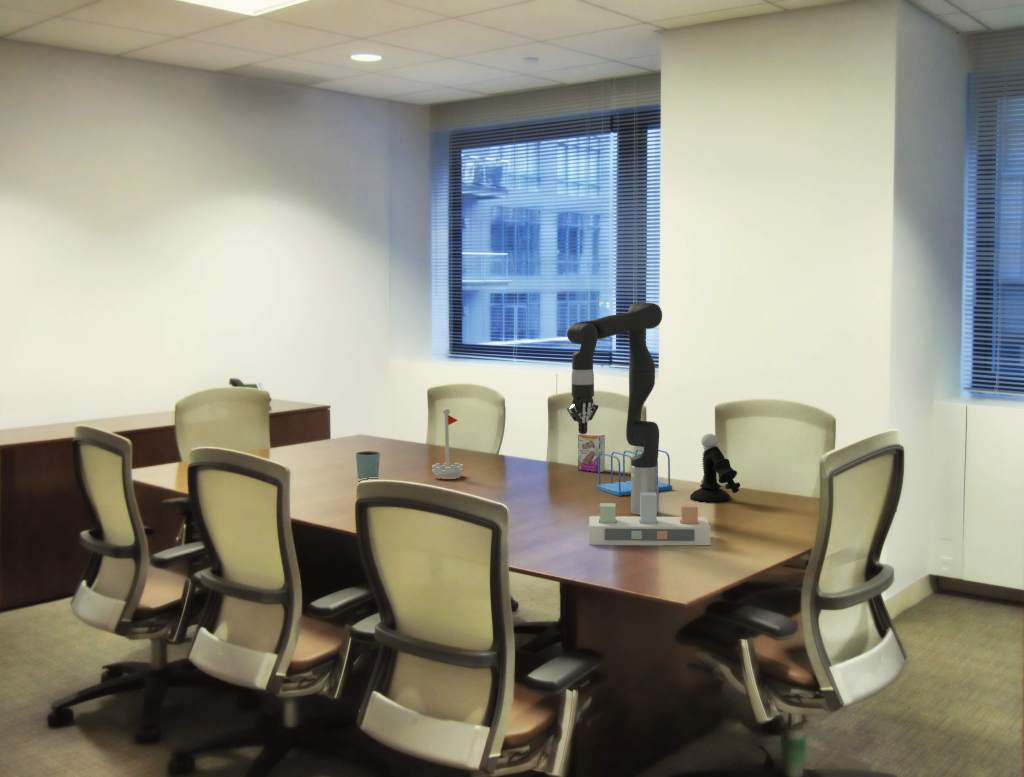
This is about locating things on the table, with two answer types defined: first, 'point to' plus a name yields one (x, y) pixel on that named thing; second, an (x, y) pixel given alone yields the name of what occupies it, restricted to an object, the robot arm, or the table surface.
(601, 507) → the key sage
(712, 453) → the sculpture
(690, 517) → the key terracotta
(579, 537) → the table surface
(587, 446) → the candy bar box
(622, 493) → the file sorter
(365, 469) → the teal tapered cup
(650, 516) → the key grey
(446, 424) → the flag stand
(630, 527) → the white flat bar
